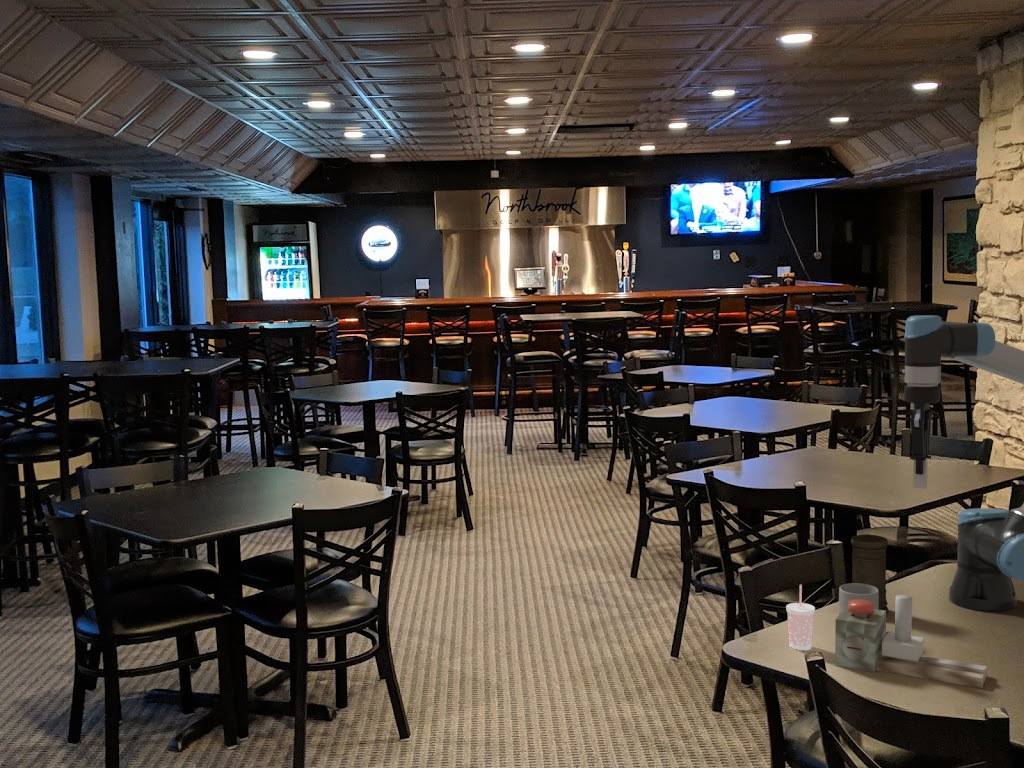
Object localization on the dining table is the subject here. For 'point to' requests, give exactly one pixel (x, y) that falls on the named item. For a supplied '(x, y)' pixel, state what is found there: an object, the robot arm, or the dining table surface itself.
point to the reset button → (861, 607)
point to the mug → (857, 594)
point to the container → (870, 564)
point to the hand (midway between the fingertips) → (920, 487)
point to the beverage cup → (800, 624)
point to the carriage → (903, 633)
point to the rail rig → (864, 652)
